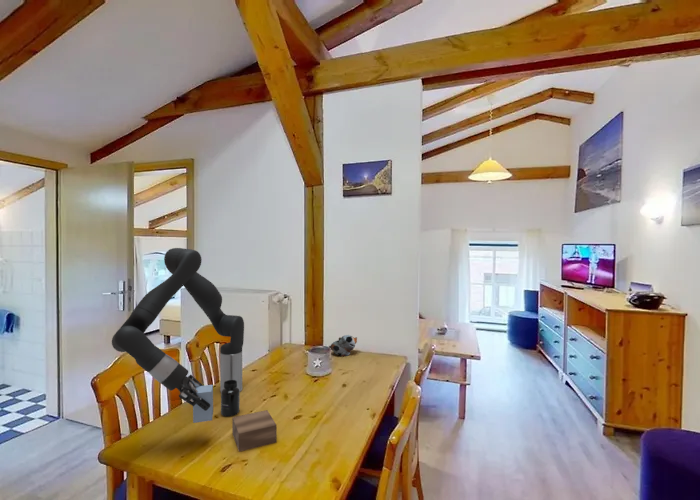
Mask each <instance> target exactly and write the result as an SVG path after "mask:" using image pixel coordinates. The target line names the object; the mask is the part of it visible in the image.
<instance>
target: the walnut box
mask: <svg viewBox="0 0 700 500" xmlns="http://www.w3.org/2000/svg"><path fill="white" fill-rule="evenodd" d="M231 417H232V421H231V422H232V423H231V424H232V433H231V434H232V437H233V439H234V442H235V445H236V448H237V450H238V452H239V453H240V452H243V451H247V450H253V449H256V448H260V447H263V446H267V445H271V444H275V443H277V433H278V432H277V427H278V426H277V424H276V422H275V420H274V418H273V417H272V415H271V414H270V412H269V411H268V409H266V410H262V411H261V410H260V411H257V412H251V413H247V414H240V415H235V416H231Z"/></svg>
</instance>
